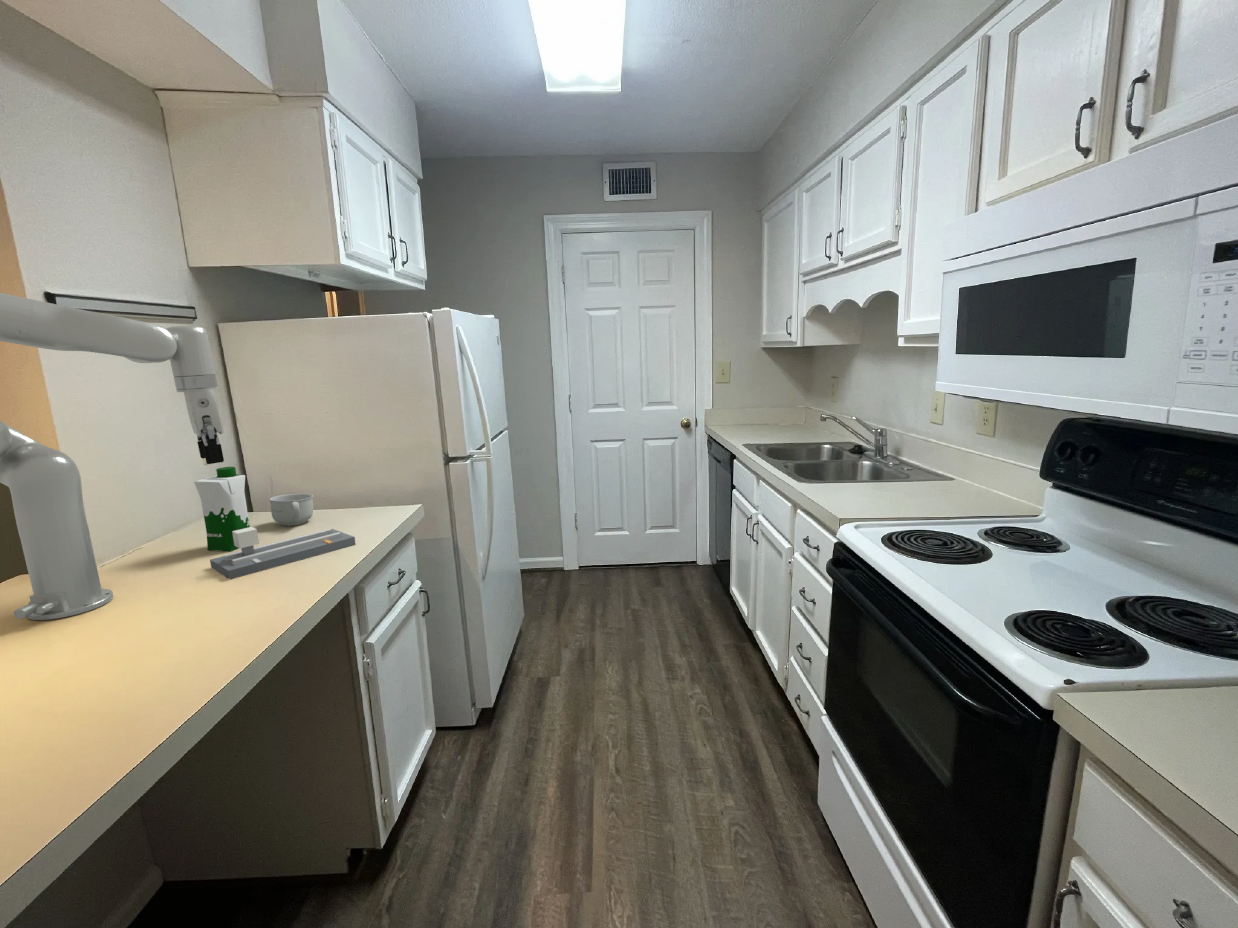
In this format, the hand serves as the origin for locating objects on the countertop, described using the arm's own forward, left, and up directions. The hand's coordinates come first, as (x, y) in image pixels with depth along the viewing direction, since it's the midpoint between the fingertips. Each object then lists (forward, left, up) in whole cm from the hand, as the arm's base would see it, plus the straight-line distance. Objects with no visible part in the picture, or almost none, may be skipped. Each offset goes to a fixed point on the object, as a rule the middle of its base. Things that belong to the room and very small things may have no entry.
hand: (212, 460), depth 132 cm
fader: (-2, -6, -23) cm, 23 cm away
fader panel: (+4, -11, -25) cm, 27 cm away
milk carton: (+14, +7, -25) cm, 29 cm away
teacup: (+32, -1, -25) cm, 40 cm away
